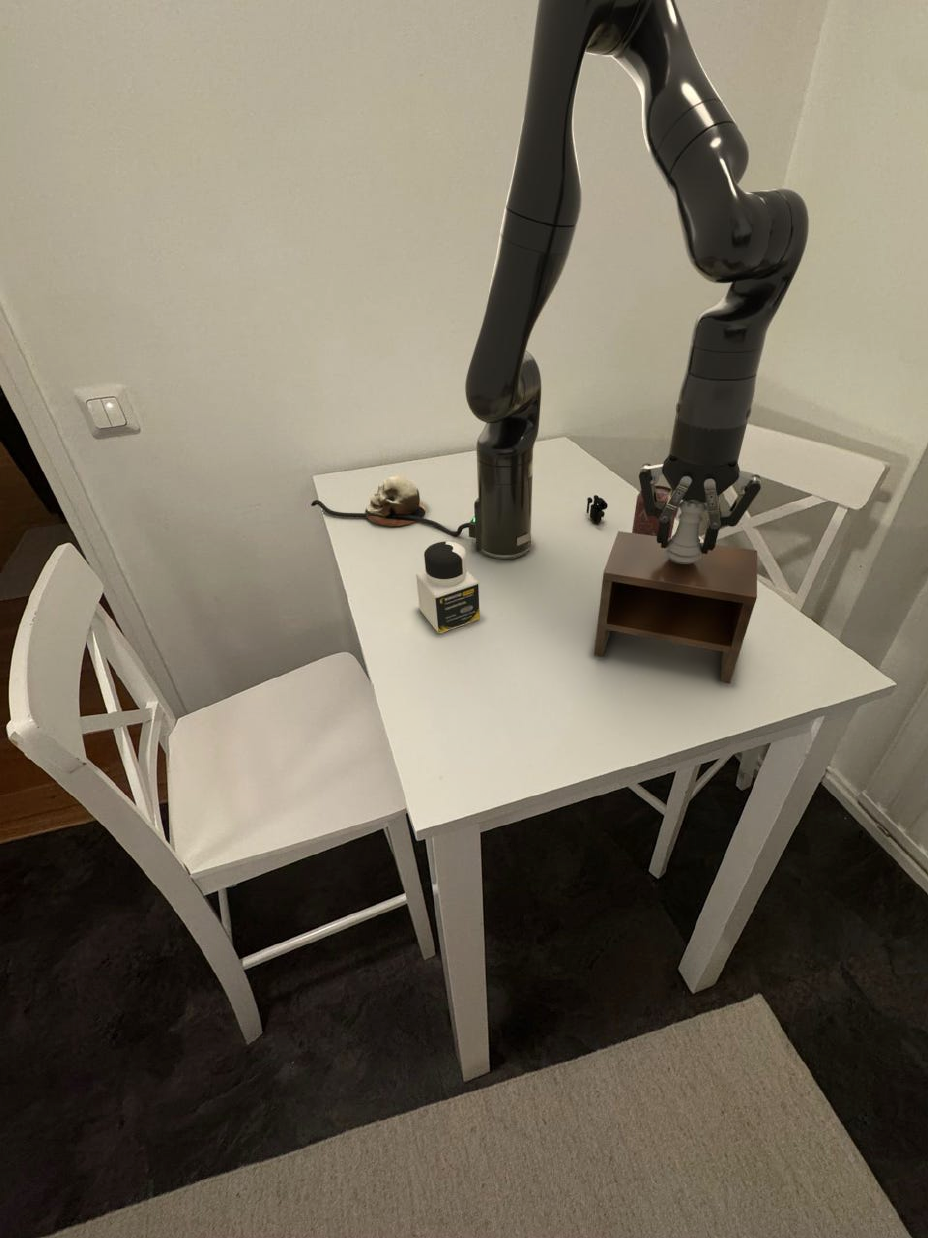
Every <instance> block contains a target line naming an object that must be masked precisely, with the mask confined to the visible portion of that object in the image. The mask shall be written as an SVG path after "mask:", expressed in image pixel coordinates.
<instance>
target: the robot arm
mask: <svg viewBox="0 0 928 1238" xmlns="http://www.w3.org/2000/svg"><path fill="white" fill-rule="evenodd" d="M536 11H537V12H536V13H537V14H536V19H535V26H534V33H533V34H534V35H533V41H532V49H531V59H530V65H529V66H530V67H529V73H528V74H529V75H528V81H527V90H526V98H525V99H526V100H525V103H524V104H525V106H524V112H523V117H522V122H521V127H520V134H519V139H518V145H517V149H516V154H515V161H514V164H513V165H514V166H513V171H512V176H511V181H510V183H509V184H510V185H509V189H508V192H507V197H506V202H505V205H504V206H505V207H504V211H503V217H502V221H501V226H500V231H499V237H498V242H497V251H496V255H495V260H494V265H493V270H492V275H491V280H490V284H489V289H488V293H487V299H486V304H485V308H484V309H485V310H484V314H483V318H482V322H481V326H480V329H479V333H478V336H477V340H476V342H475V346H474V350H473V351H472V356H471V359H470V361H469V366H468V369H467V372H466V377H465V383H464V384H465V385H464V390H465V399H466V403H467V405H468V408H469V409H470V411H471V413H472V415H473V416H475V418H477V419H478V420H479V421H481V422H483V423H485V425H484V426H483V427H484V428H483V429H482V431H481V433H480V434H479V436H478V438H477V440H476V445H475V446H476V449H475V450H476V474H477V475H476V476H477V498H476V500H475V501H474V504H473V509H474V510H473V511H474V512H473V513H474V516H473V517H472V519H470V521H469V522H465V523H462V524H460V525H459V526H458V527H457V529H456V530H455V531H453V530H450V529H449V528H447V527H445V526H444V525H442V524H440V523H439V522H437V521H434V520H432V519H428V518H424V517H422V518H421V517H417V516H412V515H406V514H403V515H393V516H394V517H399V518H404V519H410V520H415V521H416V522H420V523H423V524H427V525H430V526H432V527H434V528H436V529H438V530H440V531H441V532H443V533H445V534H447V535H449V536H453V537H459V536H461V534H462V532H463V530H464V529H468V538H471V539H475V551H477V552H481V553H482V554H483V555H485V556H487V557H488V558H492V559H495V560H513V559H514V560H515V559H518V558H520V557H523V556H525V555H526V554H528V553H529V552H530V550H531V548H532V515H533V514H532V513H533V512H532V510H533V507H532V506H533V477H534V476H533V472H534V471H533V470H534V447H535V444H536V441H537V438H538V435H539V430H540V418H541V417H540V416H541V405H542V376H541V370H540V368H539V364H538V362H537V360H536V359H535V357H534V356H533V355H532V354H531V353H530V352H529V351H528V350H527V347H528V343H529V340H530V337H531V334H532V332H533V330H534V327H535V325H536V323H537V321H538V320H539V317H540V316H541V313H542V311H543V310H544V308H545V306H546V304H547V303H548V301H549V299H550V298H551V295H552V294H553V293H554V290H555V288H556V286H557V284H558V282H559V280H560V278H561V276H562V275H563V274H562V273H563V271H564V269H565V267H566V264H567V262H568V258H569V254H570V252H571V251H570V250H571V248H572V244H573V241H574V237H575V233H576V230H577V226H578V223H579V219H580V214H581V209H582V200H583V199H582V197H583V196H582V181H581V174H580V168H579V161H578V155H577V148H576V142H575V141H576V140H575V134H574V113H575V111H574V110H575V103H576V97H577V92H578V88H579V87H578V86H579V80H580V76H581V71H582V67H583V62H584V58H585V54H588V55H592V56H598V57H603V58H605V57H611V58H612V59H613V60H615V61H616V62H617V63H618V64H619V65H620V67H622V68H623V69H624V71H626V73H627V74H628V75H629V76H630V77H631V78H632V80H633V81H634V83H635V85H636V87H637V88H638V89H637V90H638V91H639V93H640V97H641V126H642V132H643V137H644V142H645V145H646V148H647V152H648V153H649V155H650V157H651V159H652V161H653V163H654V164H655V167H656V169H657V170H658V172H659V174H660V175H661V177H662V179H663V181H664V182H665V184H666V186H667V188H668V189H669V191H670V192H671V195H672V196H673V197H674V199H675V200H674V201H675V204H676V210H677V216H678V221H679V225H680V229H681V233H682V234H681V235H682V238H683V242H684V248H685V252H686V255H687V258H688V260H689V262H690V264H691V266H692V267H693V269H694V270H695V271H696V273H698V274H699V276H701V277H702V278H703V279H705V280H706V281H708V282H711V283H714V284H719V285H720V284H721V285H722V284H728V286H727V288H726V291H725V292H724V295H723V296H722V298H721V299H720V300H719V301H718V302H717V303H715V304H713V305H711V306H710V307H708V308H707V309H705V310H704V311H702V312H700V314H699V315H698V316H697V318H696V319H695V322H694V324H693V325H694V326H693V329H692V334H691V338H690V339H691V340H690V345H689V351H688V356H687V362H686V367H685V368H686V369H685V371H684V376H683V380H682V382H681V386H680V390H679V394H678V399H677V403H676V406H675V418H674V423H673V428H672V433H671V438H670V445H669V451H668V456H667V457H666V458H665V459H664V461H663V463H659V464H655V465H654V464H653V465H652V464H651V463H649V462H648V463H647V462H646V463H643V464H642V465H641V468H640V471H639V473H638V479H639V485H640V491H642V496H643V502H644V507H645V512H646V515H648V516H655V517H657V518H658V519H659V528H658V534H657V543H661V548H667V543H668V538H669V533H670V528H671V522H672V517H673V516H672V515H673V513H674V511H675V509H677V507H678V505H679V503H681V502H682V501H683V500H696V501H699V502H704V503H705V504H706V507H707V510H706V511H707V514H708V520H707V523H706V527H705V532H704V536H703V541H702V543H703V545H702V552H701V553H702V554H707V553H708V550H713V549H714V548H715V545H717V540H718V536H719V532H720V530H721V529H722V528H724V527H727V526H728V527H730V528H734V527H736V526H737V525H738V524H739V522H740V521H741V519H742V518H743V516H744V515H745V514H746V512H747V511H748V509H749V507H750V506H751V504H752V503H753V501H754V500H755V498H756V497H757V496H758V494H759V493H760V491H761V488H762V479H761V476H760V475H759V474H752V475H749V474H748V473H747V474H746V473H744V472H742V471H741V469H740V466H739V458H740V454H741V450H742V447H743V442H744V438H745V435H746V430H747V426H748V422H749V418H750V416H751V413H752V406H753V401H754V399H755V397H754V396H755V393H756V392H755V391H756V382H757V381H756V380H757V376H758V372H759V371H758V370H759V367H760V363H761V358H762V356H763V355H762V354H763V351H764V347H765V342H766V338H767V337H766V336H767V332H768V331H769V328H770V326H771V324H772V321H773V320H774V318H775V316H776V314H777V313H778V311H779V309H780V307H781V304H782V302H783V301H784V298H785V296H786V294H787V292H788V290H789V288H790V286H791V284H792V281H793V280H794V278H795V275H796V274H797V271H798V269H799V266H800V264H801V262H802V259H803V256H804V254H805V250H806V247H807V243H808V238H809V231H810V218H809V211H808V207H807V204H806V202H805V200H804V198H803V197H802V196H801V195H800V194H799V193H798V192H796V191H795V190H792V189H788V188H773V189H765V190H754V191H744V190H742V188H741V187H740V186H739V184H740V182H741V180H742V179H743V177H744V176H745V174H746V171H747V169H748V166H749V162H750V151H749V145H748V143H747V141H746V139H745V136H744V135H743V133H742V131H741V129H740V128H739V126H738V125H737V123H736V121H735V119H734V117H733V116H732V114H731V113H730V111H729V110H728V108H727V106H726V105H725V103H724V102H723V100H722V98H721V97H720V95H719V94H718V92H717V91H716V89H715V87H714V86H713V84H712V82H711V80H710V79H709V77H708V75H707V74H706V72H705V70H704V68H703V66H702V64H701V62H700V60H699V58H698V55H697V54H696V51H695V49H694V47H693V45H692V42H691V39H690V38H689V34H688V32H687V30H686V26H685V24H684V22H683V19H682V16H681V14H680V11H679V9H678V6H677V3H676V1H675V0H538V3H537V10H536ZM662 475H663V476H664V479H665V480H666V482H667V484H668V485H669V488H671V489H672V490H671V492H670V494H669V496H668V498H667V500H666V502H665V504H664V505H663V504H660V503H658V500H657V494H656V488H655V486H656V485H657V484H658V482H659V479H660V476H662ZM735 483H736V484H737V493H738V495H737V497H736V498H735V499H734V501H733V503H732V504H731V506H730V507H729V509H728V510H725V511H722V509H721V508H722V507H721V495H722V494H723V493H725V491H727V490H728V489H729V488H730V487H732V486H733V485H734V484H735ZM316 505H317V506H319V508H321V509H322V511H324V512H325V513H326V514H329V515H331V516H335V517H340V518H364V519H368V517H367V516H366V515H368V516H378V515H375V514H372V513H365V512H361V513H360V512H341V511H335V510H332V509H330V508H329V507H328V506H326V505H325V504H324V503H323V502H322V501H321V500H318V499H315V500H313V501H312V503H311V504H310V506H311V507H315V506H316Z"/></svg>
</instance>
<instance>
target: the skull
mask: <svg viewBox="0 0 928 1238" xmlns="http://www.w3.org/2000/svg"><path fill="white" fill-rule="evenodd" d="M369 499H370V503H369V504H368V505H367V506H366V508H365V511H364V513H372V514H375V515H378V516H368V515H366V516H367V517H368V518H367V519H368V520H370V521H371V522H372V523H375V524H376V525H381V526H383V527H385V526H391V527H400V526H405V525H410V524H411V525H412V524H413V523H416V522H417V521H415V520H410V519H404V518H399V517H394V516H393V515H403V514H406V515H412V516H417V517H421V518H424V516H425V515H426V508H425V506H424V504H422V502H420V501H421V497H420V491H419V488H418V487H417V485H416V484H414V482H412V481H411V480H409V479H408V478H406V477H404V476H402V475H392V476H389V477H387V478H385V479H384V480H383V481H382V484H380V485H378V487H377V489H376V491H374V494H373V495H372V496H371V497H370V498H369Z"/></svg>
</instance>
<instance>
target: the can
mask: <svg viewBox="0 0 928 1238" xmlns="http://www.w3.org/2000/svg"><path fill="white" fill-rule="evenodd" d="M655 488H656V494H657V500H658V503H660V504H663V505H664V504H665V502H666V500H667V498H668V496H669V494H670V492H671V490H672V489H671V487H668V486H664V485H655ZM679 510H680V508H679V505H678V507H677V509H675V511H674V513H673V515H672V516H673V517H672V522H671V528H670V533H669V538H672V536H673V530H674V524H675V520H676V517H677V516H678V513H679ZM658 528H659V519H658V518H657V517H655V516H648V515H646V512H645V507H644V502H643V496H642V491H641V490H640V492H639V493H638V494H637V496H636V503H635V510H634V516H633V522H632V529H631V530H632V531H631V533H636V534H643V535H650V536H657V534H658Z"/></svg>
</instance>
